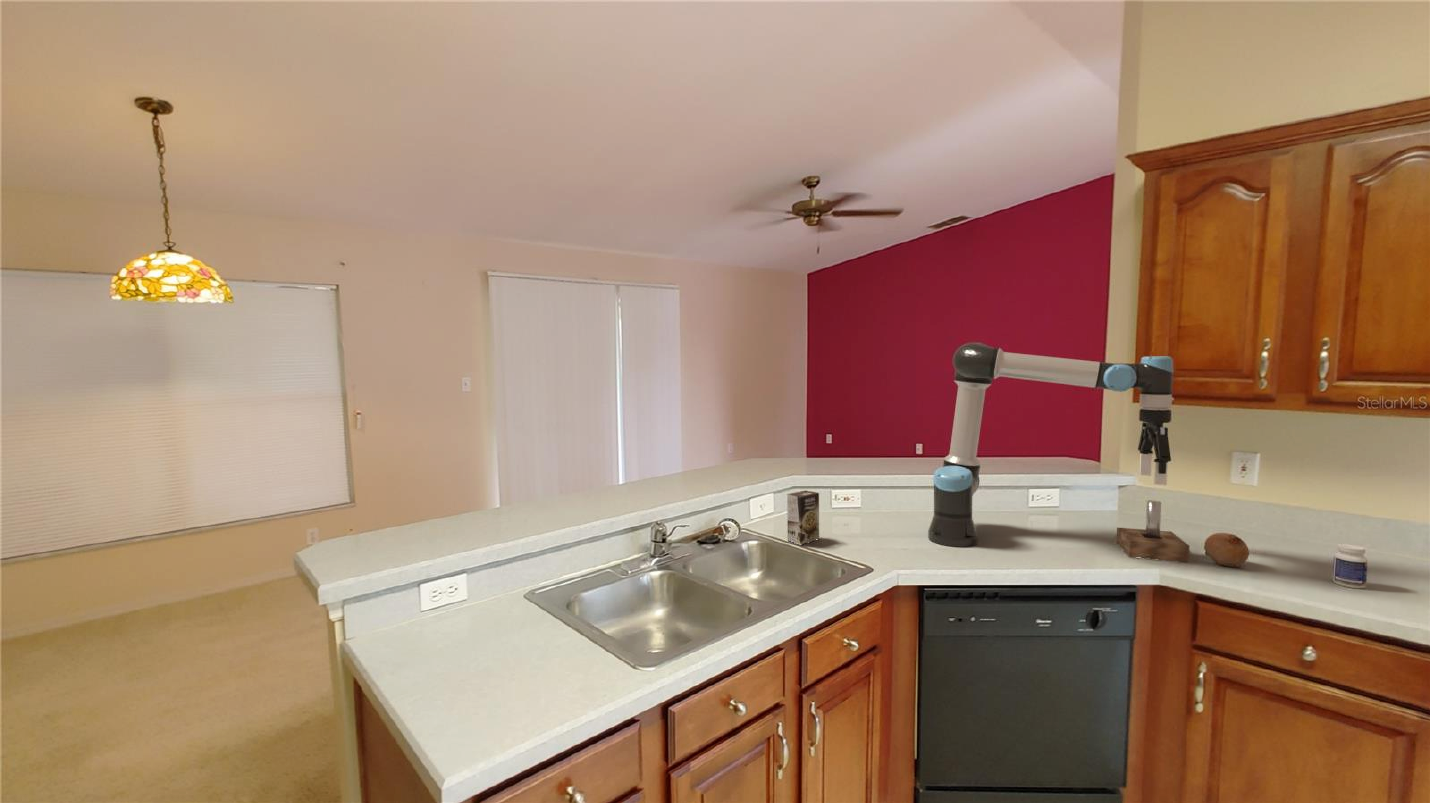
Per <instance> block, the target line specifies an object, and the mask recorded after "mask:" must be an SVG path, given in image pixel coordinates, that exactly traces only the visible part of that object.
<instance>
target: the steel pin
mask: <svg viewBox="0 0 1430 803" xmlns="http://www.w3.org/2000/svg"><path fill="white" fill-rule="evenodd" d="M1145 515H1146V516H1145V517H1146V518H1145V530H1146V538H1156V539H1160V531H1161V521H1162V520H1161V517H1162V502H1161V501H1160V500H1159V501H1158V500H1153V499H1151V500H1149V499H1148V500H1146V514H1145Z"/></svg>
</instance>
